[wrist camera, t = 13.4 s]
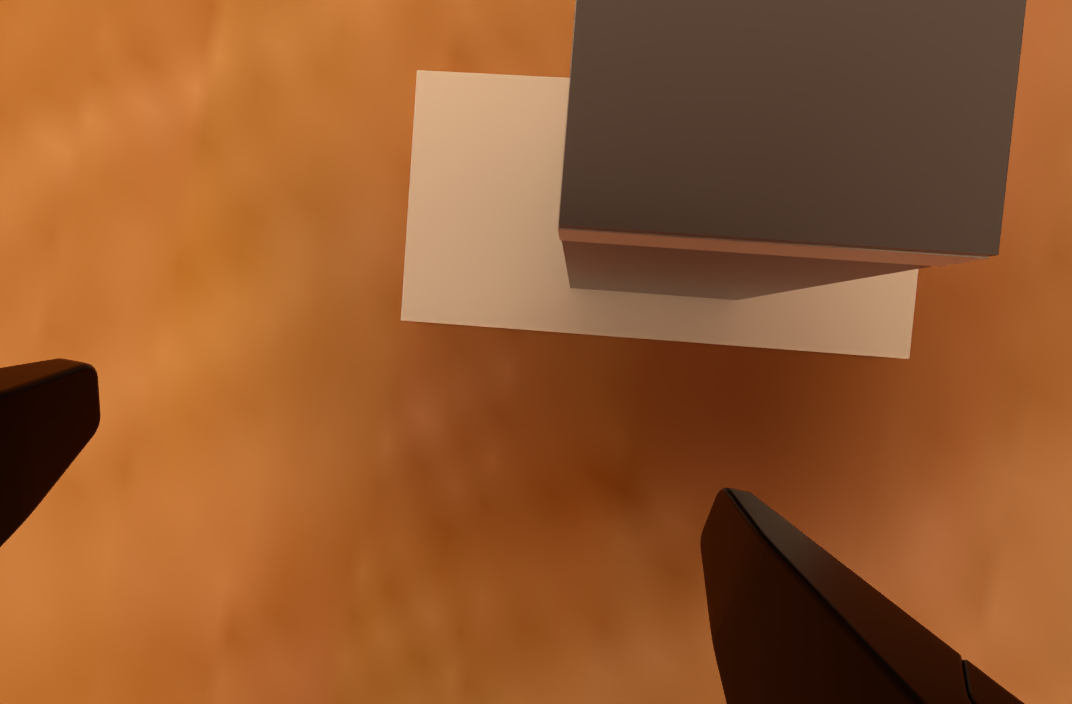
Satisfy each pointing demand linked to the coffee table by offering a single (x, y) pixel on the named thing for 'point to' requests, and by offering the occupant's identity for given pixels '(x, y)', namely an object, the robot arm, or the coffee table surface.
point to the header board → (537, 252)
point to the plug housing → (784, 141)
